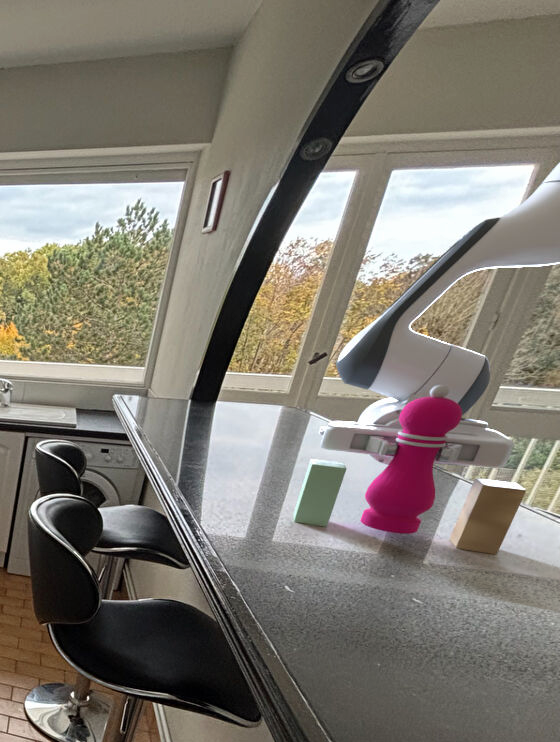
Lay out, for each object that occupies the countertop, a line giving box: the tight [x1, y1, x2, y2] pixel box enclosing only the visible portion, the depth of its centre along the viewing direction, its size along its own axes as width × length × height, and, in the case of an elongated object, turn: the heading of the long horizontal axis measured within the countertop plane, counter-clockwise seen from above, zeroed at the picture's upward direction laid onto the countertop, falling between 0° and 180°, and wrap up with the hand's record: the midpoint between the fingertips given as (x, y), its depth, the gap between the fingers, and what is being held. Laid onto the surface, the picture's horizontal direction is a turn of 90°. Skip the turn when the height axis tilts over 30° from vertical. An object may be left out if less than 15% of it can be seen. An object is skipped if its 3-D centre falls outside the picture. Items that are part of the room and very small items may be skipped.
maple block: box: [449, 477, 527, 556], centre depth 79 cm, size 4×4×9 cm
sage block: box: [292, 458, 347, 528], centre depth 88 cm, size 4×4×9 cm
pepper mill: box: [360, 385, 463, 535], centre depth 81 cm, size 7×7×20 cm
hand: (418, 453), depth 80 cm, fingers closed on pepper mill, 4 cm apart
